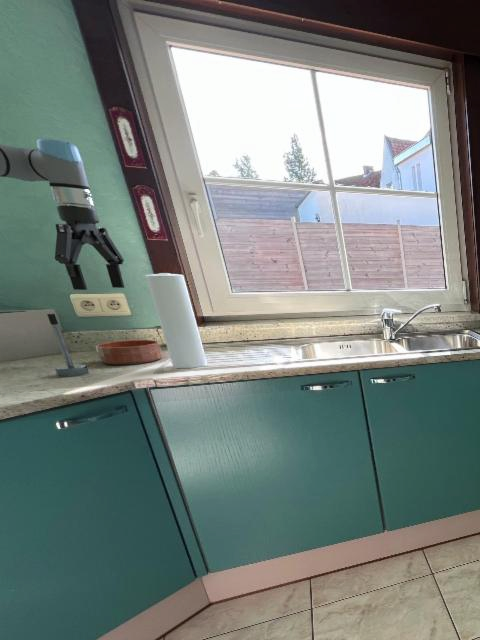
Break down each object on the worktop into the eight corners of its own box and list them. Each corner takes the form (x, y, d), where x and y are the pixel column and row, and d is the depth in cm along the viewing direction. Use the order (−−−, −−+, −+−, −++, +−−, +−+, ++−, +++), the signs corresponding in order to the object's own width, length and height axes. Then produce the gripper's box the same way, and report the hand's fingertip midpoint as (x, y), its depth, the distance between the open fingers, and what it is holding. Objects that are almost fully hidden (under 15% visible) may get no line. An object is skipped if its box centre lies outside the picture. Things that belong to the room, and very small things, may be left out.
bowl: (97, 367, 163) (90, 349, 160) (107, 358, 175) (101, 341, 173) (160, 362, 171) (155, 345, 169) (165, 354, 183) (161, 338, 181)
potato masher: (54, 377, 149) (30, 315, 142) (61, 373, 155) (37, 313, 148) (86, 375, 153) (63, 314, 146) (91, 370, 158) (70, 312, 151)
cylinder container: (208, 361, 175) (184, 272, 164) (206, 366, 168) (181, 274, 157) (174, 363, 170) (147, 272, 159) (171, 369, 163) (142, 273, 152)
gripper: (50, 201, 122) (78, 291, 129) (126, 211, 145) (146, 287, 152) (15, 199, 120) (45, 290, 128) (97, 210, 144) (118, 286, 151)
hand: (100, 288), depth 140 cm, fingers open, 13 cm apart
